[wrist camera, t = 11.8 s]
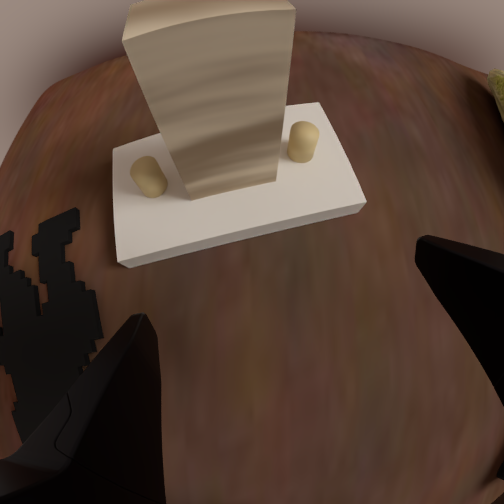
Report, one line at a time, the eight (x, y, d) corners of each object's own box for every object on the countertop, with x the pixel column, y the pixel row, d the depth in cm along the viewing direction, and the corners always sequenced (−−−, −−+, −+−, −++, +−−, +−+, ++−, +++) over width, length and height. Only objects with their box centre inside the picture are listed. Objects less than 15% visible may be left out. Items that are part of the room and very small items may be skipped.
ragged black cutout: (-8, 245, 21) (56, 508, 13) (-13, 243, 20) (52, 511, 12) (97, 195, 22) (187, 524, 14) (92, 190, 21) (185, 529, 13)
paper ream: (275, 181, 19) (296, 9, 7) (191, 200, 19) (121, 41, 7) (260, 136, 20) (263, -21, 8) (183, 153, 20) (130, 3, 8)
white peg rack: (357, 212, 21) (379, 185, 17) (129, 268, 20) (100, 252, 16) (315, 116, 23) (323, 82, 19) (121, 161, 22) (100, 131, 18)
